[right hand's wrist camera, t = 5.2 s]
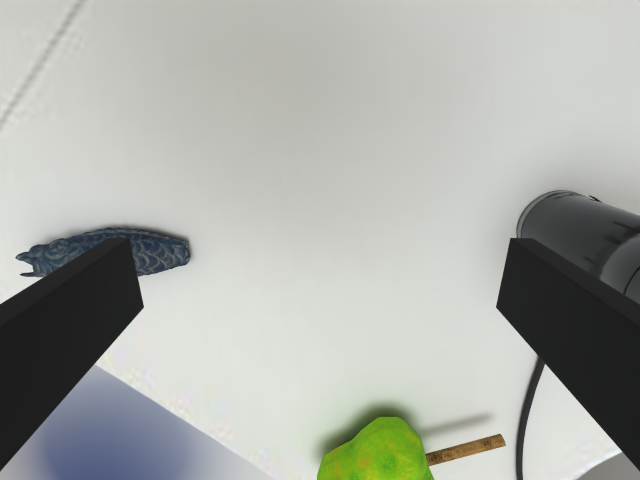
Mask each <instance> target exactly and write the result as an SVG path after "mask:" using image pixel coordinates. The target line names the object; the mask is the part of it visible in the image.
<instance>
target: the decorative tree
mask: <svg viewBox="0 0 640 480" xmlns="http://www.w3.org/2000/svg"><path fill="white" fill-rule="evenodd" d="M503 446H506V444H505V441H504V439H503V437H502V435H501V434H497V435H494V436H490V437H486V438H483V439H479V440H475V441H472V442H468V443H464V444H461V445H457V446H453V447H450V448H446V449H442V450H438V451H435V452H431V453H427V454H425V452H424V449H423V445H422V442H421V439H420V437H419V435H418V434H417V433H416V432H415V431H414V430H413V429H412V428H411V427H410V426H409V425H408V424H407V423H406V422H405V421H404V420H403V419H401V418H400V417H378V418H377V419H375V420H374V421H372V422H371V423H370V424H368V425H367V426H366V427H364V428H363V429H362V430H361V431H360V432H359V433H358V434H357V435H356V436H355V437H354V438H353V439H352V440H351V441H349V442H347V443H345V444H342V445H341V446H339V447H337V448H335V449H334V450H332V451H330V452H329V453H327V454H326V455H324V457H323V459H322V462H321V465H320V468H319V471H318V475H317V480H434V478H433V476H432V474H431V471H430V469H429V466H432V465H435V464H439V463H443V462H446V461H450V460H454V459H458V458H461V457H465V456H469V455H473V454H476V453H480V452H484V451H488V450H491V449H495V448H499V447H503Z"/></svg>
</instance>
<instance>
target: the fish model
mask: <svg viewBox="0 0 640 480" xmlns="http://www.w3.org/2000/svg"><path fill="white" fill-rule="evenodd" d="M107 238H130V243H131V248H132V253H133V258H134V262H135V267H136V272H137V276H143V275H150V274H155V273H158V272H162V271H165V270H168V269H173V268H175V267H178V266H183V265H186V264H188V262H189V258H190V255H189V251H188V249H187V248H188V243H187V242H186V241H183V240H177V239H176V238H174V239H172V238H169V237H167V236H165V235H163V236H161V235H159V234H157V233H155V232H147V231H145V230H138V231H137V230H134V229H128V230H127V229H124V228H117V229H113V228H107V229H104V230H101V229H99V230H96V231H94V232H86V233H84V234H82V235H78V236H73V237H71V238H68V239H58V240H55V241H53V242H51V243H50V244H46V245H35V246H33V247H32V248H31V249H30V250H29V252H23V253H21V254H18V255H17V256H16V257H15V258H16V259H18V260H20V261H25V262H26V263H29V264H31V265H32V266H33V270H34V272H30V273H22V274H20V275H21V276H26V277H45V276H47V275H48V274H50V273H52V272H53V271H55V270H56V269H58V268H60V267H61V266H63V265H65V264H66V263H68V262H69V261H71V260H73V259H74V258H76V257H77V256H79V255H81V254H82V253H84V252H86V251H87V250H89V249H90V248H92V247H94V246H95V245H97V244H98V243H100V242H102V241H103V240H105V239H107Z"/></svg>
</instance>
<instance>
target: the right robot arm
mask: <svg viewBox="0 0 640 480" xmlns="http://www.w3.org/2000/svg"><path fill="white" fill-rule="evenodd" d="M143 308H144V305H143V301H142V296H141V291H140V286H139V281H138V277H137V272H136V267H135V262H134V258H133V253H132V248H131V243H130V238H107V239H105V240H103V241H102V242H100V243H98V244H97V245H95V246H94V247H92V248H90V249H89V250H87V251H86V252H84V253H82V254H81V255H79V256H77V257H76V258H74V259H73V260H71V261H69V262H68V263H66V264H65V265H63V266H61V267H60V268H58V269H56V270H55V271H53V272H52V273H50V274H48V275H47V276H45V277H44V278H42V279H40V280H39V281H37V282H35V283H34V284H32V285H31V286H29V287H27V288H26V289H24V290H23V291H21V292H19V293H18V294H16V295H14V296H13V297H11V298H10V299H8V300H6V301H5V302H3V303H2V304H0V471H1V470H2V469H3V468H4V466H5V465H6V464H7V463H8V462H9V461H10V460H11V458H12V457H13V456H14V455H15V454H16V453H17V452H18V450H19V449H20V448H21V447H22V446H23V445H24V444H25V442H26V441H27V440H28V439H29V438H30V437H31V436H32V434H33V433H34V432H35V431H36V430H37V429H38V428H39V426H40V425H41V424H42V423H43V422H44V421H45V420H46V418H47V417H48V416H49V415H50V414H51V413H52V412H53V410H54V409H55V408H56V407H57V406H58V405H59V404H60V403H61V401H62V400H63V399H64V398H65V397H66V396H67V394H68V393H69V392H70V391H71V390H72V389H73V388H74V386H75V385H76V384H77V383H78V382H79V381H80V380H81V378H82V377H83V376H84V375H85V374H86V373H87V372H88V371H89V369H90V368H91V367H92V366H93V365H94V364H95V363H96V361H97V360H98V359H99V358H100V357H101V356H102V355H103V353H104V352H105V351H106V350H107V349H108V348H109V347H110V345H111V344H112V343H113V342H114V341H115V340H116V339H117V337H118V336H119V335H120V334H121V333H122V332H123V331H124V329H125V328H126V327H127V326H128V325H129V324H130V323H131V321H132V320H133V319H134V318H135V317H136V316H137V315H138V313H139V312H140V311H141V310H142V309H143ZM496 308H497V309H498V310H499V311H500V312H501V313H502V315H503V316H504V317H505V318H506V319H507V320H508V321H509V323H510V324H511V325H512V326H513V327H514V328H515V329H516V331H517V332H518V333H519V334H520V335H521V336H522V337H523V339H524V340H525V341H526V342H527V343H528V344H529V345H530V347H531V348H532V349H533V350H534V351H535V352H536V353H537V355H538V356H539V357H540V358H541V359H542V360H543V361H544V363H545V364H546V365H547V366H548V367H549V368H550V369H551V371H552V372H553V373H554V374H555V375H556V376H557V377H558V379H559V380H560V381H561V382H562V383H563V384H564V385H565V387H566V388H567V389H568V390H569V391H570V392H571V393H572V395H573V396H574V397H575V398H576V399H577V400H578V401H579V403H580V404H581V405H582V406H583V407H584V408H585V409H586V410H587V412H588V413H589V414H590V415H591V416H592V417H593V418H594V420H595V421H596V422H597V423H598V424H599V425H600V426H601V428H602V429H603V430H604V431H605V432H606V433H607V434H608V436H609V437H610V438H611V439H612V440H613V441H614V442H615V444H616V445H617V446H618V447H619V448H620V449H621V450H622V452H623V453H624V454H625V455H626V456H627V457H628V458H629V460H630V461H631V462H632V463H633V464H634V465H635V466H636V467H637V469H638V470H639V471H640V304H638V303H637V302H635V301H634V300H632V299H630V298H629V297H627V296H626V295H624V294H622V293H621V292H619V291H617V290H616V289H614V288H613V287H611V286H609V285H608V284H606V283H605V282H603V281H601V280H600V279H598V278H596V277H595V276H593V275H592V274H590V273H588V272H587V271H585V270H584V269H582V268H580V267H579V266H577V265H575V264H574V263H572V262H571V261H569V260H567V259H566V258H564V257H563V256H561V255H559V254H558V253H556V252H554V251H553V250H551V249H550V248H548V247H546V246H545V245H543V244H542V243H540V242H538V241H537V240H535V239H533V238H510V243H509V248H508V253H507V257H506V262H505V267H504V272H503V277H502V281H501V286H500V291H499V296H498V301H497V305H496Z"/></svg>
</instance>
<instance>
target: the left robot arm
mask: <svg viewBox="0 0 640 480" xmlns="http://www.w3.org/2000/svg"><path fill="white" fill-rule="evenodd" d="M590 197H592V196H590ZM592 198H593V199H594V200H592V199H590V198H588V197H585V196H582V195H580V194H578V193H575V192H571V191H564V190H561V191H554V192H550V193H547V194H545V195H543V196H541V197H539V198H538V199H536V200H535V201H534V202H532V203H531V204H530V205H529V206H528V207H527V209H526V210H525V211H524V213H523V214H522V216H521V218H520V221H519V224H518V228H517V236H518V238H533V239H535V240H537V241H538V242H540V243H542V244H543V245H545V246H546V247H548V248H550V249H551V250H553V251H554V252H556V253H558V254H559V255H561V256H563V257H564V258H566V259H567V260H569V261H571V262H572V263H574V264H575V265H577V266H579V267H580V268H582V269H584V270H585V271H587V272H588V273H590V274H592V275H593V276H595V277H596V278H598V279H600V280H601V281H603V282H605V283H606V284H608V285H609V286H611V287H613V288H614V289H616V290H617V291H619V292H621V293H622V294H624V295H626V296H627V297H629V298H630V299H632V300H634V301H635V302H637V303H638V304H640V216H639V215H636V214H633V213H631V212H628V211H625V210H622V209H619V208H616V207H613V206H610V205H607V204H604V203H602V202H601V201H599V200H598V199H596V198H595V197H592ZM595 200H596V201H595ZM544 365H545V363H544V361H543V360H542V359H541V358H540V357H539V361H538V364H537V367H536V370H535V373H534V376H533V378H532V381H531V384H530V387H529V391H528V394H527V398H526V401H525V405H524V409H523V413H522V417H521V422H520V428H519V434H518V443H517V479H518V480H523V474H522V457H523V443H524V436H525V430H526V425H527V420H528V416H529V412H530V408H531V405H532V401H533V397H534V394H535V391H536V387H537V385H538V382H539V379H540V376H541V374H542V371H543V368H544Z"/></svg>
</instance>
